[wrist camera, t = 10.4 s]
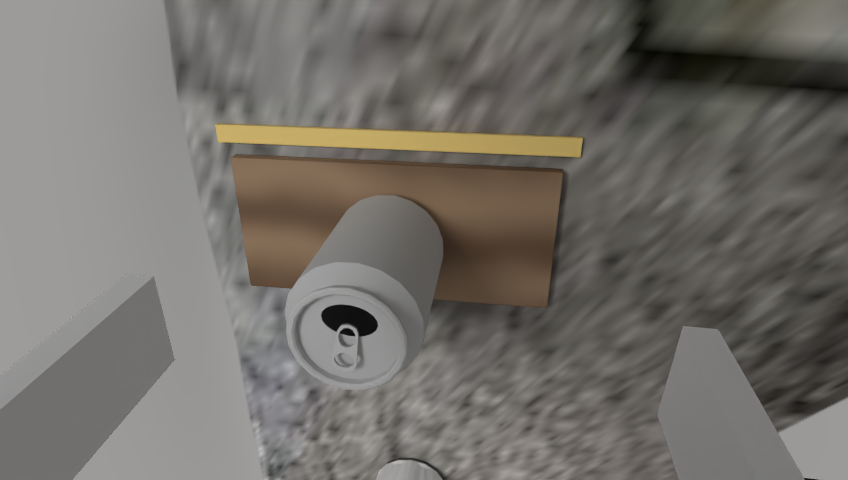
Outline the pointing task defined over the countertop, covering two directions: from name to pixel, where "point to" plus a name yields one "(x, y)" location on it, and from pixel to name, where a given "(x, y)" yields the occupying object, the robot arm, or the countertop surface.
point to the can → (366, 294)
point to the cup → (408, 470)
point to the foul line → (401, 140)
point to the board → (428, 188)
